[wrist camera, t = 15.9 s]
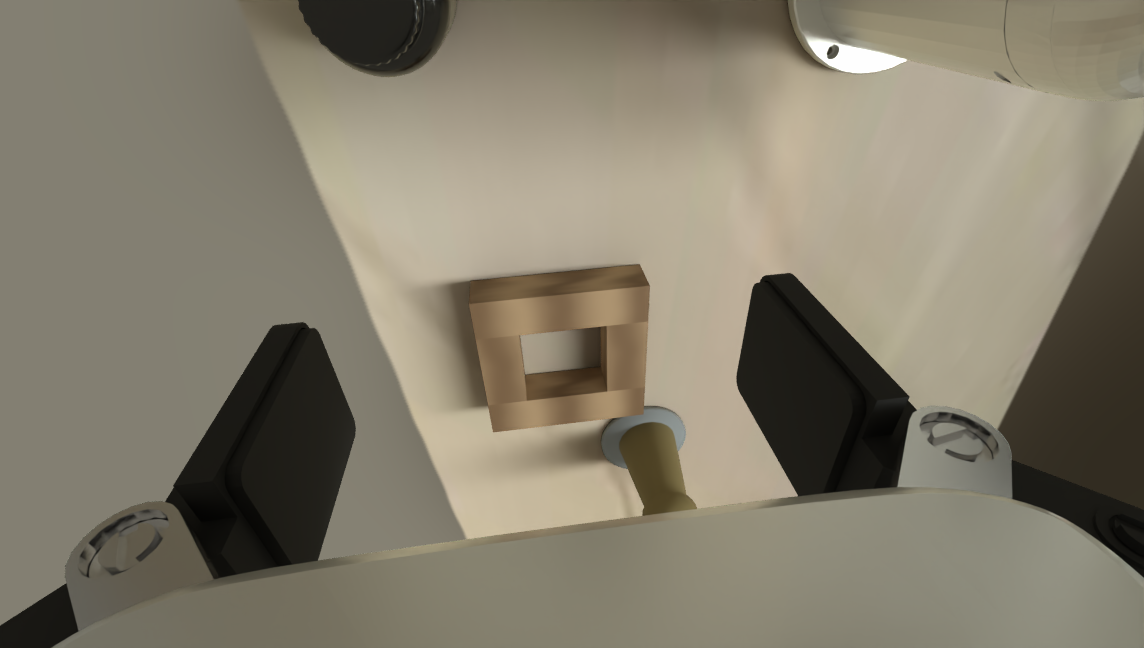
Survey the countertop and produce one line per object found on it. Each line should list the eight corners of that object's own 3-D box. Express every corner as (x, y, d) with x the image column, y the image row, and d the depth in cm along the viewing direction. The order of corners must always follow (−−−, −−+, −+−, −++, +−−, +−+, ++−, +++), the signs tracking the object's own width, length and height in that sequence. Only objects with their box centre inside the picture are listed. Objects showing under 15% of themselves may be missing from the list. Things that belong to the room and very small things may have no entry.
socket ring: (639, 264, 43) (649, 285, 40) (635, 389, 51) (643, 414, 48) (470, 281, 42) (468, 303, 39) (493, 405, 50) (493, 432, 47)
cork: (614, 461, 56) (637, 556, 47) (623, 422, 53) (650, 515, 44) (667, 460, 57) (699, 553, 48) (680, 421, 54) (717, 513, 45)
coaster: (687, 401, 53) (689, 405, 53) (680, 459, 58) (682, 463, 58) (600, 411, 52) (601, 415, 52) (601, 469, 58) (602, 473, 57)
